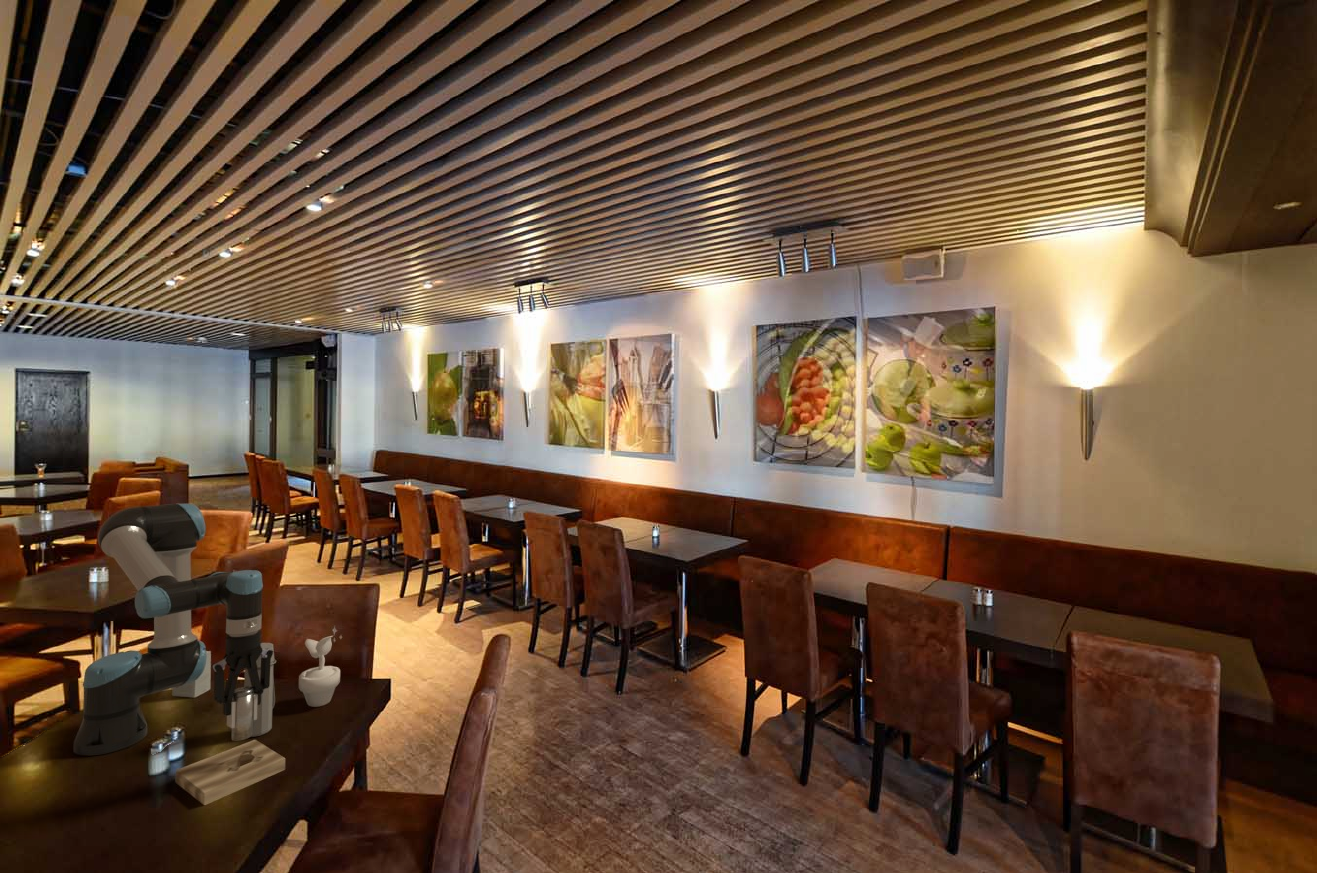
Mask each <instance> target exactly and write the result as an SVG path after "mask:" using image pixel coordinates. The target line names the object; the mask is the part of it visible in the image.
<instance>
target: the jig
mask: <svg viewBox="0 0 1317 873" xmlns="http://www.w3.org/2000/svg"><path fill="white" fill-rule="evenodd" d="M285 770H286V758H285V757H284V756H283V755H281V754H280V753H277V752H276V751H274V750H273V749H271V748H269V746H266V745H265V744H263V743H262V742H260V741H258V740H257V739H253V740H250V741H248V742H245V743H243V744H240V745H238V746H234V747H233V748H230V749H227V750H224V751H222V752H219V753H217V754H214V755H211V756H209V757H207V758H204V759H201V760H199V761H196V762H193V763H191V764H189V765H187V766H186V765H185V766H183V767H181V768H178V769H176V770H175V778H174V780H175V783H176V784H177V785H178V786H179V787H180V788H182V789H183V790H184V791H186V792H187V793H188V794H189V795H191V796H192V797H193V798H194V799H195V800H197V801H198V802H199V803H201V804H202V805H203V806H206V805H209V804H211V803H213V802H216V801H217V800H220V799H223V798H225V797H227V796H229V795H231V794H233V793H236V792H238V791H240V790H243V789H245V788H247V787H250V786H252V785H254V784H256V783H258V782H261V781H262V780H265V779H268V778H269V777H271V776H274V775H276V774H278V773H280V772H283V771H285Z"/></svg>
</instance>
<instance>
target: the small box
mask: <svg viewBox="0 0 1317 873" xmlns="http://www.w3.org/2000/svg"><path fill="white" fill-rule="evenodd" d="M205 651H206V653H207V659H206V665H205V668H204V671H203V673H202V674H201V676H200V677H199V678H198V679H197V680H195V681H193V682H190V683H187V684H184V685H183V686H177V687H173V688H171V689H172V690H171V694H172V697H183V698H194V699H195V698H197V697H198V696H201V695H202V694H204V693H206V692H209V690H211V675H212V674H211V673H212V672H211V668H212V667H211V665H212V663H211V662H212V659H211V658H212V657H211V656H212V654H211V653H212V651H211V650H209V651H208V650H205Z"/></svg>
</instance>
